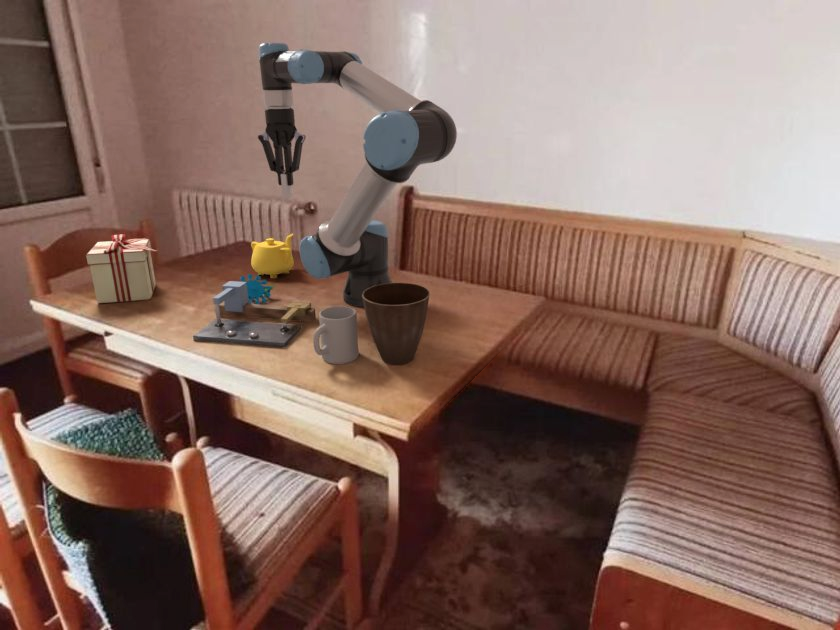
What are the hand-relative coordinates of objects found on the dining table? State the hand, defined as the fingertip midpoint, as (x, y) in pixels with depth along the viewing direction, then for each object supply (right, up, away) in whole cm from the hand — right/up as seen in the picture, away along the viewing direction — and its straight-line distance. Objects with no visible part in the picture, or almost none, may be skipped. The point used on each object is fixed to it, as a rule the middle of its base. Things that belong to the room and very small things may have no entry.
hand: (287, 197), depth 162 cm
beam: (-5, -33, -4) cm, 34 cm away
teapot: (-11, -19, +33) cm, 39 cm away
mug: (+17, -43, -28) cm, 54 cm away
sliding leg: (-14, -33, -7) cm, 36 cm away
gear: (-11, -29, +7) cm, 32 cm away
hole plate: (-6, -38, -15) cm, 41 cm away
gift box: (-50, -26, +15) cm, 58 cm away
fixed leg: (+4, -34, -10) cm, 36 cm away
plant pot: (+32, -43, -28) cm, 60 cm away
